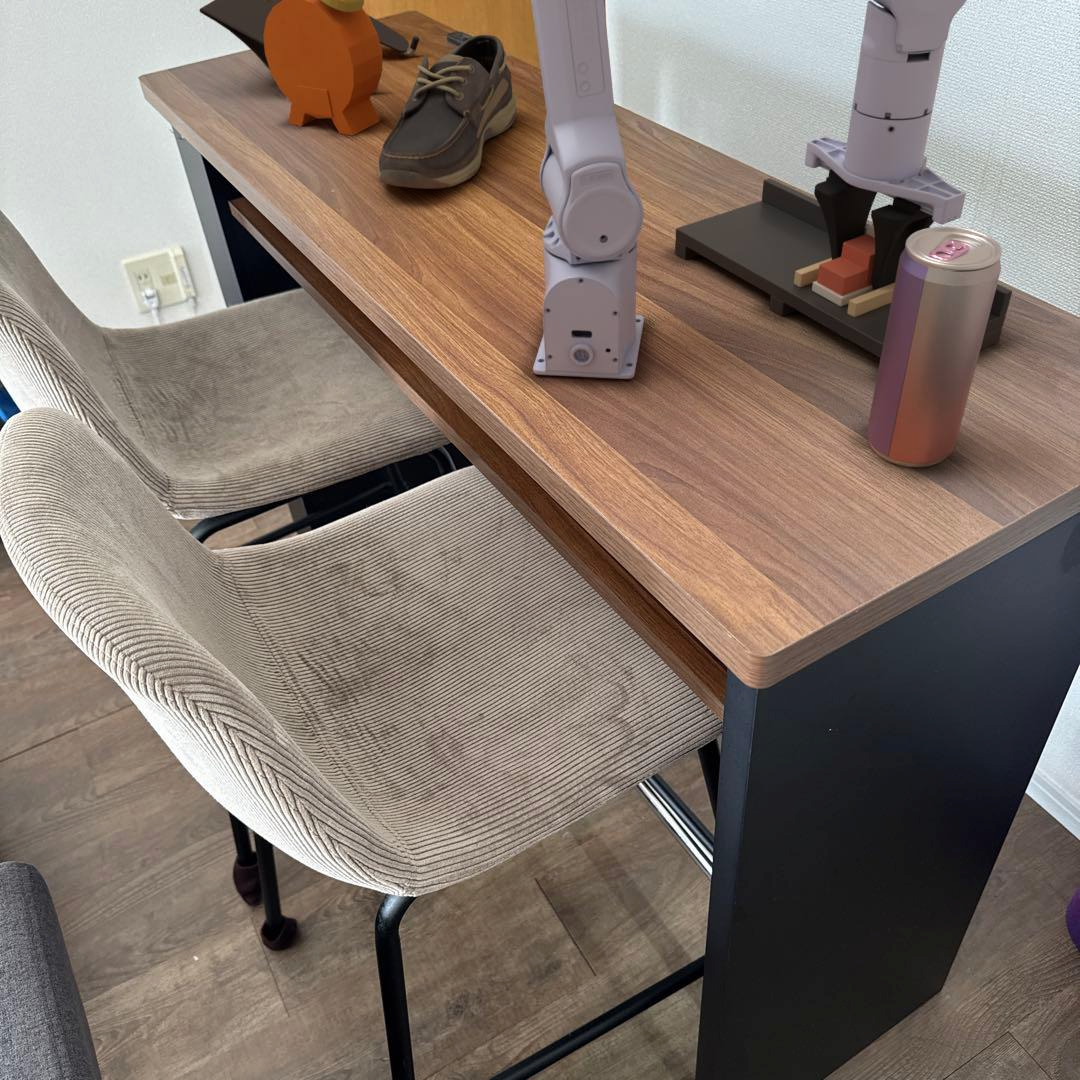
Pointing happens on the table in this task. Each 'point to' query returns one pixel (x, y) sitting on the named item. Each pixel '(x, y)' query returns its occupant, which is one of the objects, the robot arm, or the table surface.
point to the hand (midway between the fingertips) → (863, 276)
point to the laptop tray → (246, 17)
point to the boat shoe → (450, 117)
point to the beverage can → (932, 343)
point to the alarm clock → (325, 61)
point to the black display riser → (799, 264)
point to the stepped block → (848, 271)
